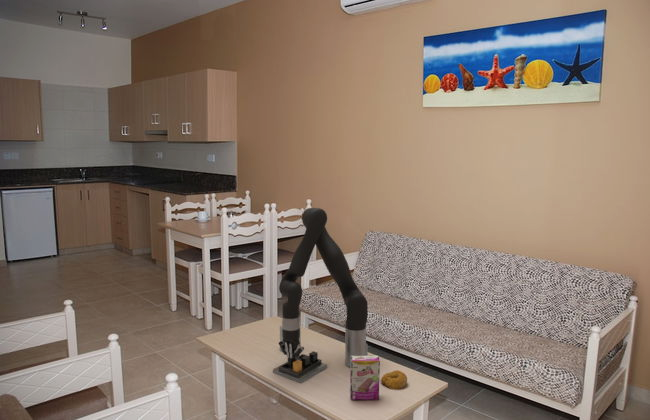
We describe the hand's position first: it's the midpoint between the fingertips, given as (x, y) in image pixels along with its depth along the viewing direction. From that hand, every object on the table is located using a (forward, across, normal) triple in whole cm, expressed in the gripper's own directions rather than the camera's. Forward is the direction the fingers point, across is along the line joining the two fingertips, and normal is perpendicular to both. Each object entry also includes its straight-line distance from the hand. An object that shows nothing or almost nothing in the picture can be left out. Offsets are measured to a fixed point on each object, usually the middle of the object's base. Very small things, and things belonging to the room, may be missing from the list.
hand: (291, 365), depth 212 cm
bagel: (+5, -39, -19) cm, 44 cm away
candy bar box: (+4, -36, -2) cm, 36 cm away
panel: (+4, 0, -6) cm, 7 cm away
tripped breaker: (+3, -3, 0) cm, 4 cm away
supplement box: (+5, +17, -19) cm, 26 cm away
